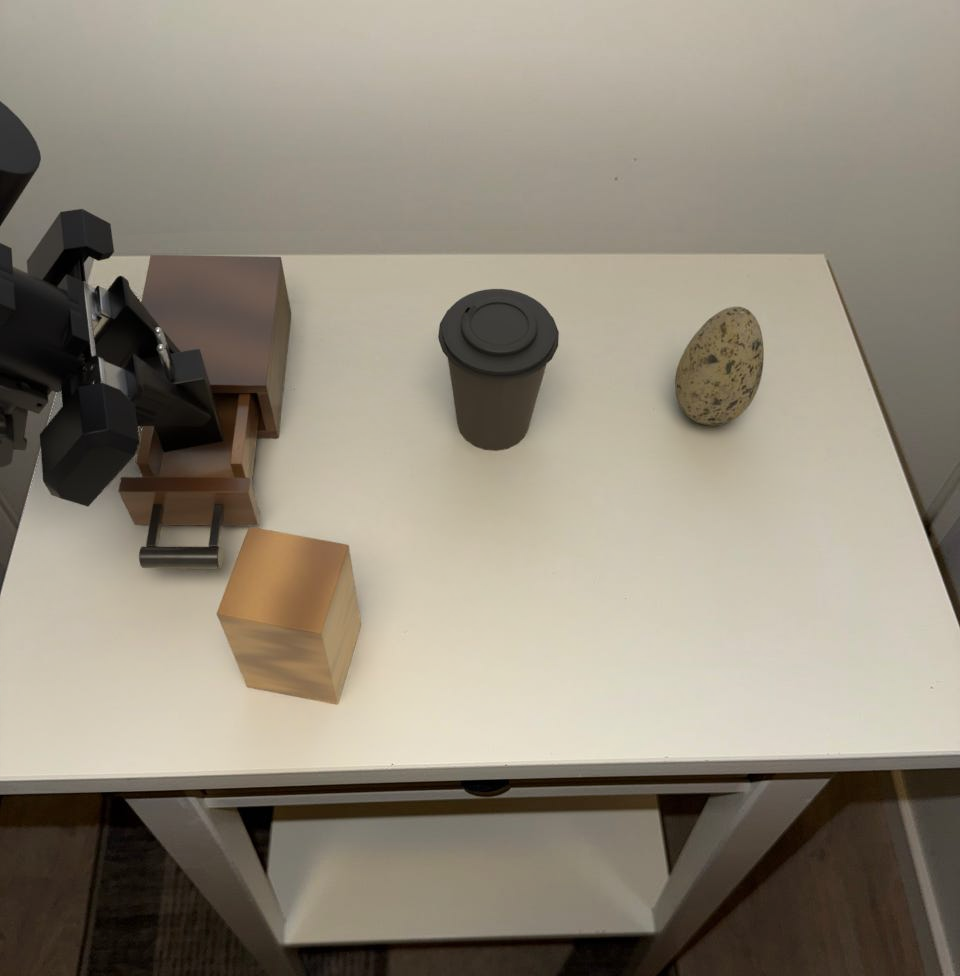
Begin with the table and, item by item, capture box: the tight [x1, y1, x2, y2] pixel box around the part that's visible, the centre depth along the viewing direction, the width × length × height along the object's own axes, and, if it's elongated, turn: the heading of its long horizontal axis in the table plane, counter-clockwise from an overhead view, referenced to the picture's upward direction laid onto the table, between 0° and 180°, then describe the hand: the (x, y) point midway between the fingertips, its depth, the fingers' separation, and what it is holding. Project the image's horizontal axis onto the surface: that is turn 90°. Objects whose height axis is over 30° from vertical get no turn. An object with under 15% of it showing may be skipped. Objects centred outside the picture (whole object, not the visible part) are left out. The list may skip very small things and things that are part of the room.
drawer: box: [117, 393, 260, 569], centre depth 67 cm, size 16×8×4 cm, turn 1°
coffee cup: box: [437, 288, 560, 451], centre depth 69 cm, size 8×8×10 cm
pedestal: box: [216, 526, 362, 705], centre depth 60 cm, size 6×6×10 cm
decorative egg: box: [674, 306, 765, 427], centre depth 70 cm, size 6×6×10 cm
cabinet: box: [140, 254, 292, 439], centre depth 72 cm, size 13×10×6 cm
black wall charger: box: [141, 327, 224, 452], centre depth 62 cm, size 4×3×9 cm, turn 105°
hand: (203, 402), depth 64 cm, fingers closed on black wall charger, 2 cm apart
